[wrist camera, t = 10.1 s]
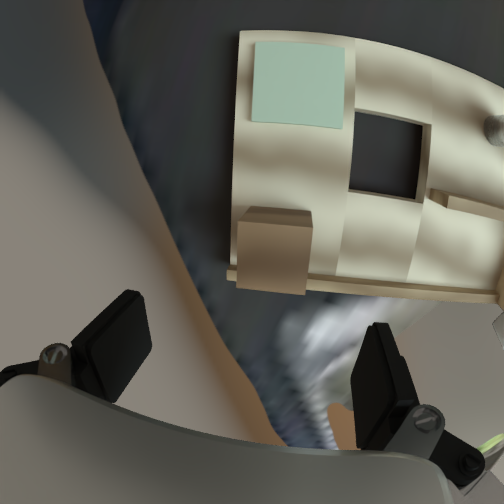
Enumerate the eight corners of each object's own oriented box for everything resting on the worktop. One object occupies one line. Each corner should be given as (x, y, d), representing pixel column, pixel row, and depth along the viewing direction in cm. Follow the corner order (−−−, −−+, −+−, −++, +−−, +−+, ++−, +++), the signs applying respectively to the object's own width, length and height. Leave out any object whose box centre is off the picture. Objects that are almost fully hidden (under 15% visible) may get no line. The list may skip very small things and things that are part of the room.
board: (244, 38, 20) (229, 14, 15) (519, 104, 15) (549, 103, 10) (234, 265, 28) (219, 292, 23) (489, 290, 24) (512, 314, 19)
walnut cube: (250, 205, 23) (237, 221, 19) (311, 210, 23) (313, 227, 18) (248, 261, 25) (236, 287, 21) (305, 266, 24) (304, 295, 20)
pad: (257, 44, 18) (255, 41, 17) (343, 51, 17) (344, 47, 16) (253, 122, 21) (251, 121, 20) (341, 129, 20) (342, 129, 19)
